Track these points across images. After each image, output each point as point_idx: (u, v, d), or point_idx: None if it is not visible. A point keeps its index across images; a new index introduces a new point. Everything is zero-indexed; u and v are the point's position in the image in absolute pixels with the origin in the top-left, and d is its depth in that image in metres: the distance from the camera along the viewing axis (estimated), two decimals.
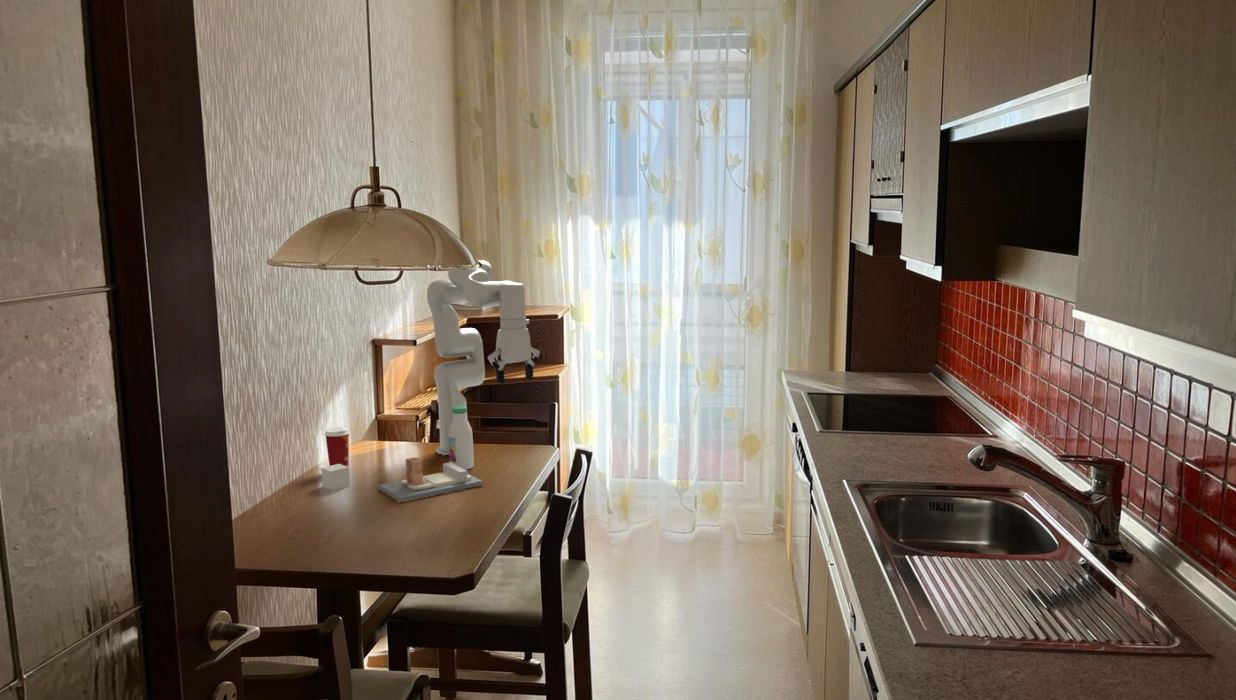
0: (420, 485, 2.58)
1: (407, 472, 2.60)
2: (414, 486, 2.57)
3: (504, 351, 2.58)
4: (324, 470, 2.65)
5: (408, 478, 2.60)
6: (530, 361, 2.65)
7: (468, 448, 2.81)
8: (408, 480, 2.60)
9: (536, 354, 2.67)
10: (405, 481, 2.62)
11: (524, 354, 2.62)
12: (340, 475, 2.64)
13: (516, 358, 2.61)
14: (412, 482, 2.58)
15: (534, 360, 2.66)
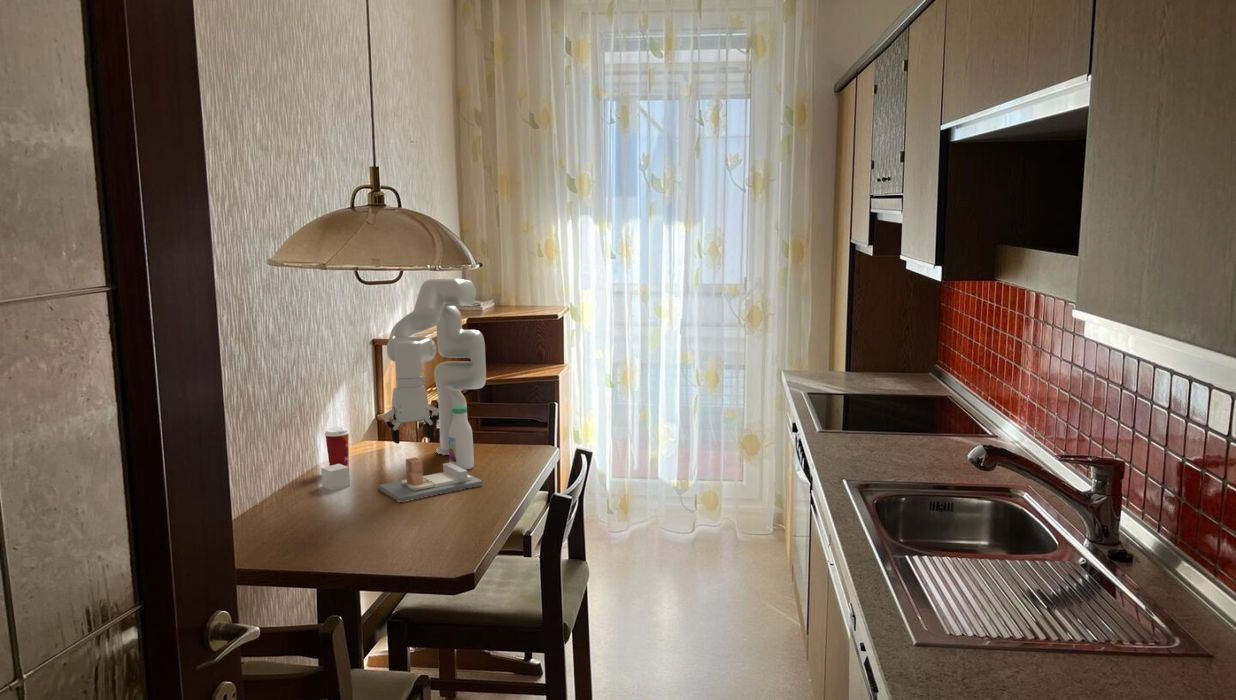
0: (420, 485, 2.58)
1: (407, 472, 2.60)
2: (414, 486, 2.57)
3: (399, 410, 2.52)
4: (324, 470, 2.65)
5: (408, 478, 2.60)
6: (428, 420, 2.59)
7: (468, 448, 2.81)
8: (408, 480, 2.60)
9: (435, 412, 2.61)
10: (405, 481, 2.62)
11: (421, 413, 2.56)
12: (340, 475, 2.64)
13: (412, 417, 2.55)
14: (412, 482, 2.58)
15: (432, 419, 2.60)
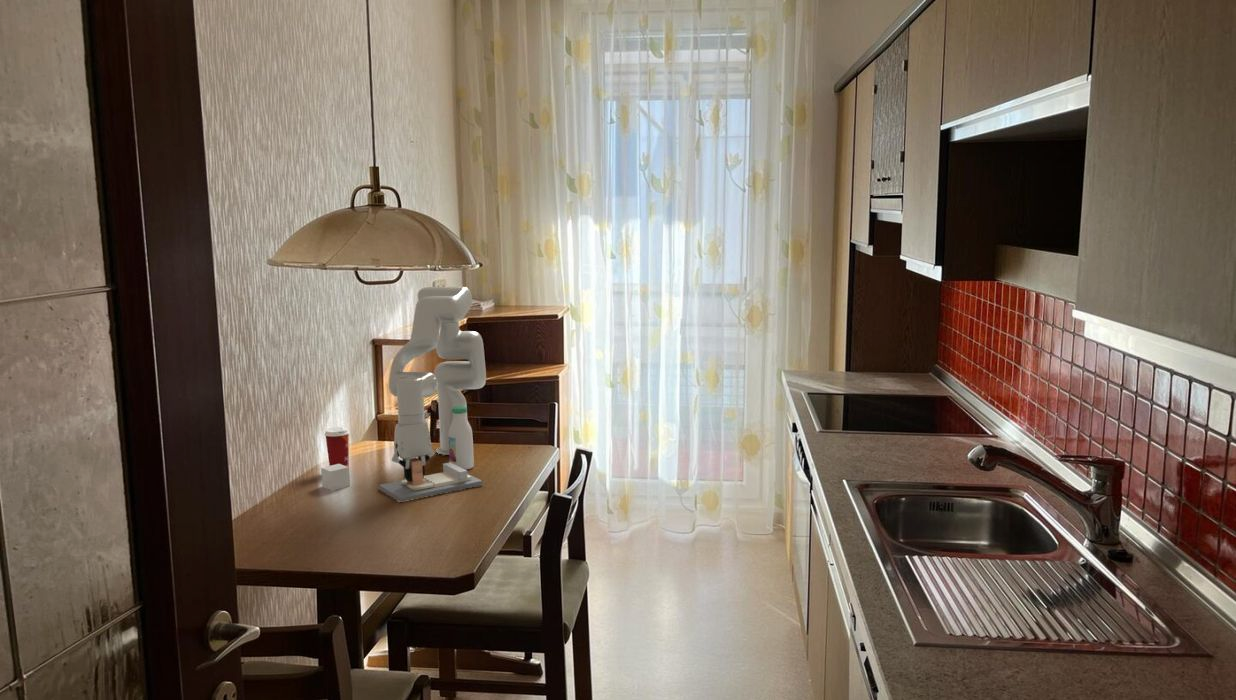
0: (420, 485, 2.58)
1: None
2: (414, 486, 2.57)
3: (401, 447, 2.54)
4: (324, 470, 2.65)
5: None
6: (423, 459, 2.60)
7: (468, 448, 2.81)
8: None
9: (430, 454, 2.62)
10: (405, 481, 2.62)
11: (423, 449, 2.58)
12: (340, 475, 2.64)
13: (414, 453, 2.57)
14: (412, 482, 2.58)
15: (425, 459, 2.61)
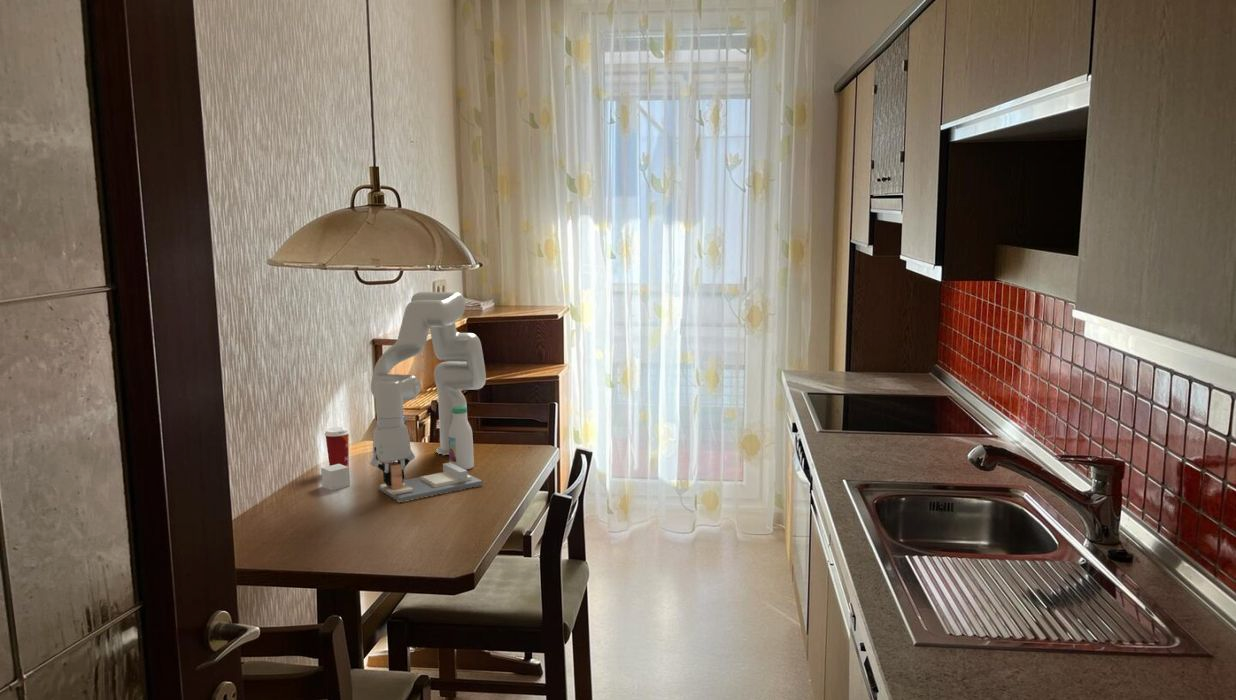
0: (399, 489, 2.54)
1: None
2: (393, 490, 2.53)
3: (380, 451, 2.51)
4: (324, 470, 2.65)
5: None
6: (402, 463, 2.56)
7: (468, 448, 2.81)
8: None
9: (410, 457, 2.58)
10: (384, 485, 2.58)
11: (402, 452, 2.55)
12: (340, 475, 2.64)
13: (393, 457, 2.53)
14: (391, 486, 2.54)
15: (405, 463, 2.57)
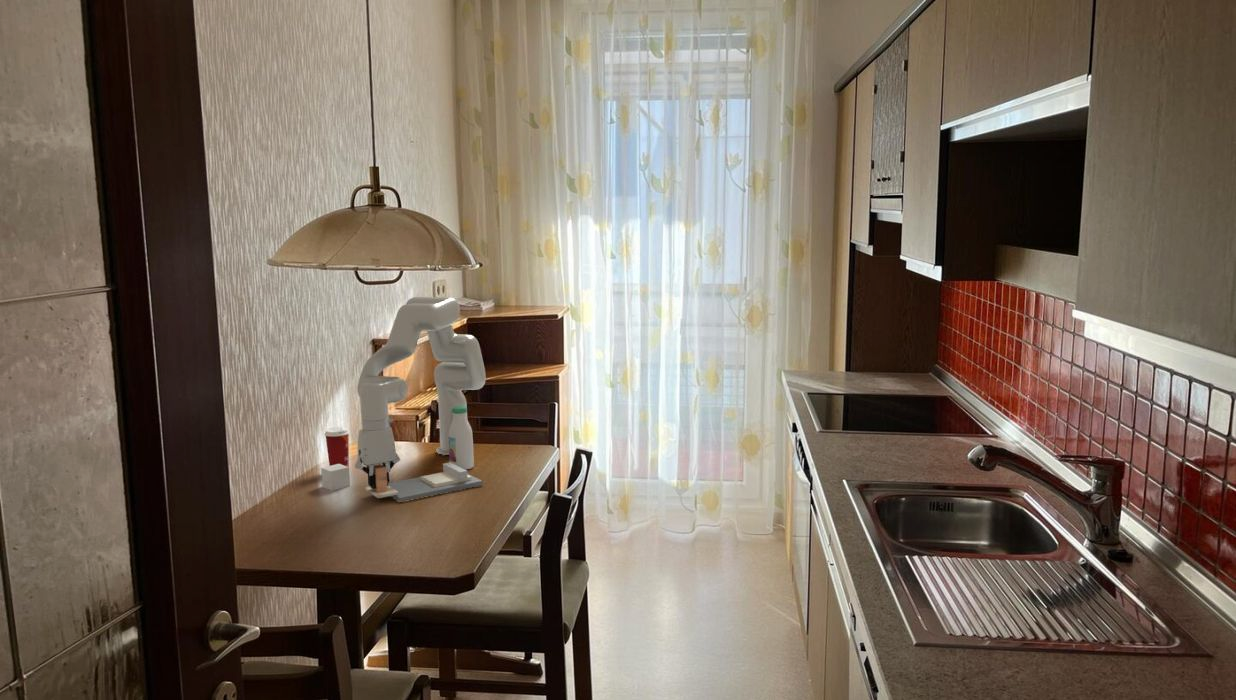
0: (384, 492, 2.51)
1: None
2: (378, 493, 2.50)
3: (364, 453, 2.48)
4: (324, 470, 2.65)
5: None
6: (387, 466, 2.53)
7: (468, 448, 2.81)
8: None
9: (395, 460, 2.55)
10: (369, 488, 2.55)
11: (387, 455, 2.52)
12: (340, 475, 2.64)
13: (378, 459, 2.51)
14: (376, 489, 2.52)
15: (390, 466, 2.54)
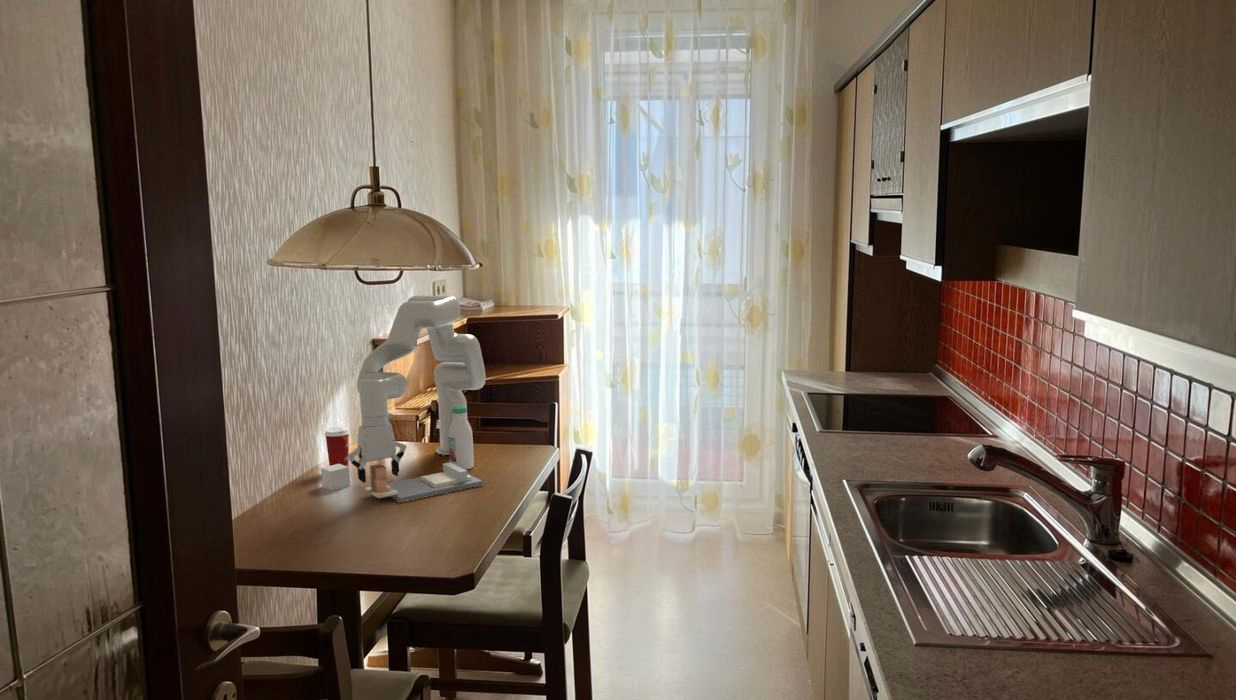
0: (384, 492, 2.51)
1: (371, 479, 2.54)
2: (378, 493, 2.50)
3: (364, 450, 2.48)
4: (324, 470, 2.65)
5: (372, 485, 2.54)
6: (395, 457, 2.55)
7: (468, 448, 2.81)
8: (372, 487, 2.54)
9: (402, 449, 2.56)
10: (369, 488, 2.55)
11: (387, 451, 2.52)
12: (340, 475, 2.64)
13: (378, 455, 2.51)
14: (376, 489, 2.52)
15: (400, 455, 2.56)
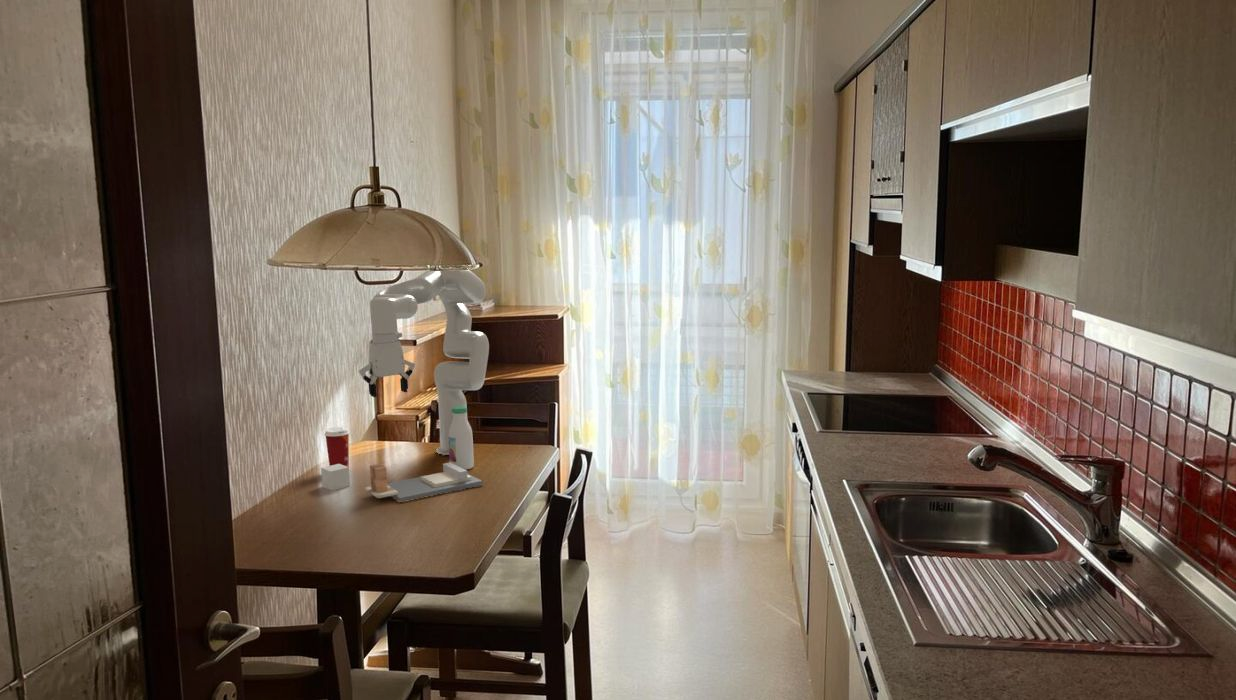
0: (384, 492, 2.51)
1: (371, 479, 2.54)
2: (378, 493, 2.50)
3: (375, 365, 2.61)
4: (324, 470, 2.65)
5: (372, 485, 2.54)
6: (404, 374, 2.67)
7: (468, 448, 2.81)
8: (372, 487, 2.54)
9: (411, 367, 2.69)
10: (369, 488, 2.55)
11: (397, 368, 2.65)
12: (340, 475, 2.64)
13: (388, 372, 2.64)
14: (376, 489, 2.52)
15: (408, 373, 2.69)
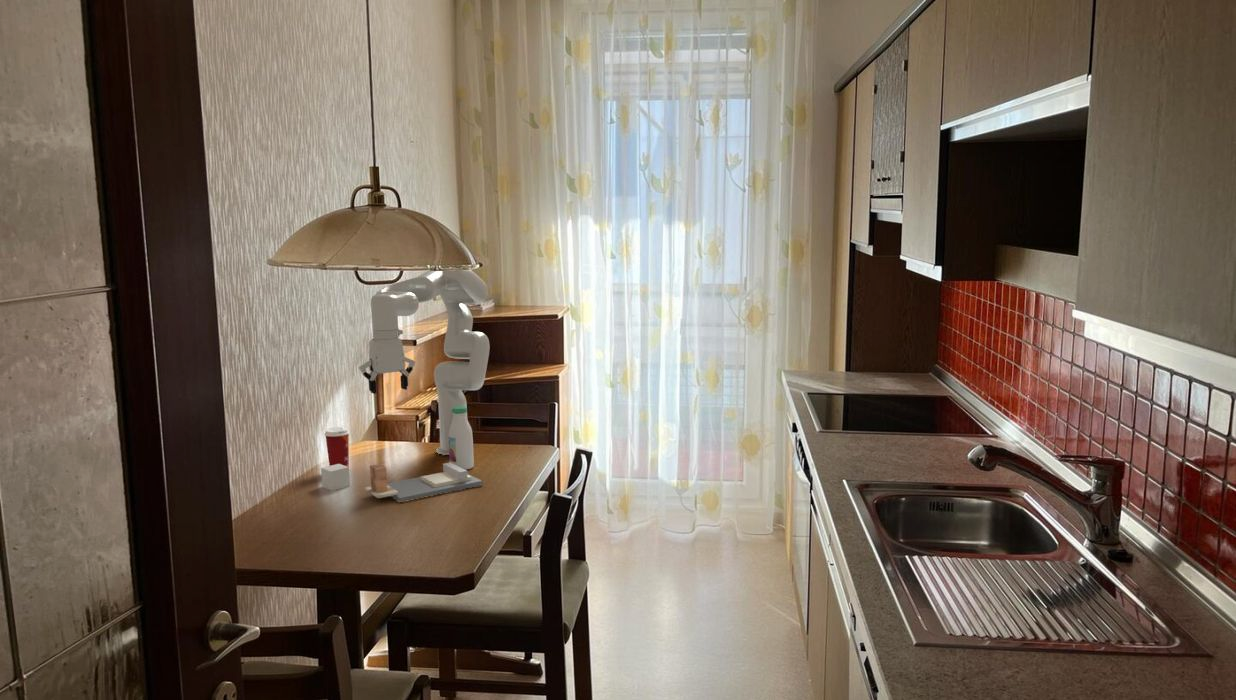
0: (384, 492, 2.51)
1: (371, 479, 2.54)
2: (378, 493, 2.50)
3: (375, 362, 2.62)
4: (324, 470, 2.65)
5: (372, 485, 2.54)
6: (404, 371, 2.68)
7: (468, 448, 2.81)
8: (372, 487, 2.54)
9: (411, 364, 2.70)
10: (369, 488, 2.55)
11: (397, 364, 2.65)
12: (340, 475, 2.64)
13: (388, 368, 2.64)
14: (376, 489, 2.52)
15: (409, 370, 2.69)
